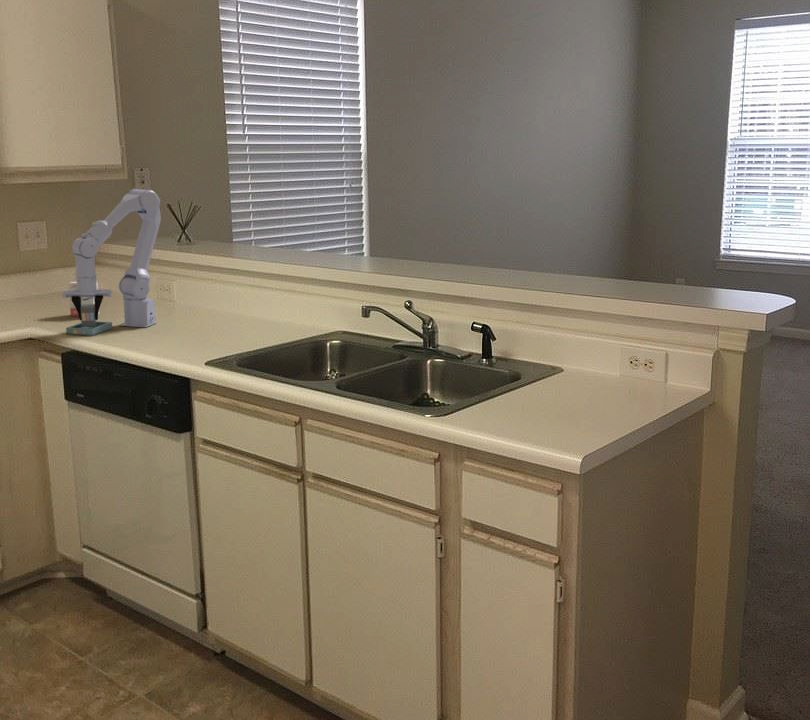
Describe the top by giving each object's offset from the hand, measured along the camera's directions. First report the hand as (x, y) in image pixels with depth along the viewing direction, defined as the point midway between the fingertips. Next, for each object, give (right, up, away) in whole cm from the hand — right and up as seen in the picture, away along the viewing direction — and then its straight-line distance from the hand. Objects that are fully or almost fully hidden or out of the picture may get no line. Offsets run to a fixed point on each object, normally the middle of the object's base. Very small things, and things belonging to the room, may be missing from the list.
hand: (88, 319), depth 287 cm
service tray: (0, -4, +1) cm, 4 cm away
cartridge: (0, -2, 0) cm, 2 cm away
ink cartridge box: (-10, +2, +26) cm, 28 cm away
